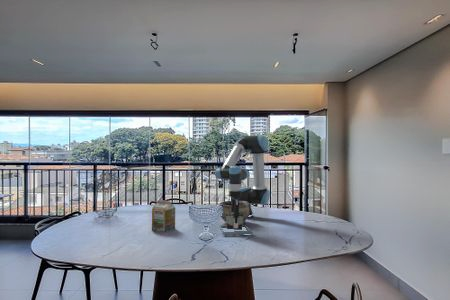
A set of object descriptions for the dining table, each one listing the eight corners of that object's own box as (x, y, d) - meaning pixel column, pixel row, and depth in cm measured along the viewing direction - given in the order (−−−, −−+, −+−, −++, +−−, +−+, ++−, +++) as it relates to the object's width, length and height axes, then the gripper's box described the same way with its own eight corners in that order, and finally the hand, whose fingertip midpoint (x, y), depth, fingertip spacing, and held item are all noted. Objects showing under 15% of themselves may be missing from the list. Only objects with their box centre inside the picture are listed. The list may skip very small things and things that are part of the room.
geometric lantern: (90, 217, 224) (91, 172, 226) (104, 214, 239) (105, 171, 241) (107, 219, 219) (108, 172, 221) (121, 215, 234) (122, 171, 236)
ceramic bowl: (250, 227, 198) (250, 205, 199) (218, 226, 199) (218, 204, 199) (248, 220, 220) (248, 200, 221) (219, 219, 221) (219, 200, 221)
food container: (244, 227, 188) (244, 211, 188) (244, 229, 182) (244, 213, 182) (225, 226, 189) (225, 211, 189) (224, 229, 183) (224, 213, 183)
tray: (219, 229, 193) (219, 225, 193) (245, 228, 195) (245, 224, 195) (223, 236, 175) (223, 232, 175) (251, 235, 178) (251, 231, 178)
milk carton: (151, 230, 187) (152, 201, 188) (162, 227, 197) (162, 198, 197) (164, 232, 182) (165, 202, 183) (175, 229, 192) (175, 200, 192)
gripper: (226, 188, 195) (226, 223, 194) (231, 192, 176) (231, 230, 175) (237, 188, 196) (237, 223, 196) (244, 192, 177) (243, 230, 176)
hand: (234, 226), depth 185 cm, fingers closed on food container, 7 cm apart
